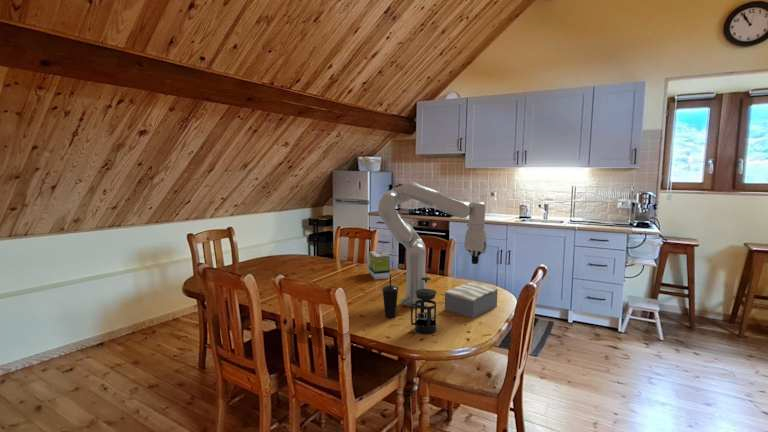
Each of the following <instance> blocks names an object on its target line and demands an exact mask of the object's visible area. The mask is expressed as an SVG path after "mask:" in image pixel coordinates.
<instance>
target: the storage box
mask: <svg viewBox="0 0 768 432" xmlns="http://www.w3.org/2000/svg"><path fill="white" fill-rule="evenodd" d="M496 307H498V291H495V292H493V293H490V294H487V295H485V296H483V297H481V298H479V299H477V300H475V301H470V300H466V299H463V298H459V297H455V296H452V295H448V294H445V293H444V310H446V311H448V312H451V313H454V314H458V315H462V316H465V317H467V318H471V319H475V318H476V317H478V316H480V315H482V313H483V314H484V312H485V313H487V312H489V311H491V310H493V309H495V308H496ZM486 311H487V312H486Z"/></svg>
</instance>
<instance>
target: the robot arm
mask: <svg viewBox="0 0 768 432" xmlns="http://www.w3.org/2000/svg"><path fill="white" fill-rule="evenodd" d="M410 200H411V201H413V202H416V203H420V204H421V205H424V206H428V207H429V208H432V209H434V210H437V211H440V212H443V213H446V214H448V215H451V216H453V217H456V218H459V219H465V218H467V217H468V223H467V224H466V226H467V227H468V228H467V229H466V232H465V237H464V248H465V251H466V252H469V253H470V254H469V255H470V256H471V264H472V265H477V264H479V259H480V258H479V257H480V255H482V254H486V249H487V234H486V233H487V232H486V230H485V219H486V204H485V203H484V202H482V201H465V200H457V199H455V198H452V197H450V196H447V195H445V194H444V193H442V192H441V191H438V190H435V189H432V188H429V187H427V186H424V185H422V184H419V183H417V182H415V181H409V182H406V183H404V184H402V185H400V186H397V187H395V188H392V189H390V190H388V191H386V192H385V193H383V194H382V196H381V197H380V200H379V202H378V209H377V211H378V215H379V218H381V221H382V222H383V223H384V225H385V226H386V228H387V230H388V231H389V232H390V233H391V234H392V236H393V238H394V239H395V240H396V242H397V243H399V244H402V245H403V247H404V248H405V250H406V251H405V254H406V255H405V259H406V261H405V262H406V263H405V264H406V265H405V266H406V268H405V269H406V270H405V271H406V277H405V280H406V281H405V282H406V284H405V289H406V291H405V295H404V298H402V299H400V300H399V302H400V303H401V304H404V305H405V306H406V307H410V308H411V304H415V302H416V301H418V300H422V299H418V298H417V297H416V293H415V291H416V290H418V289H426V283H425V280H422V279H421V278H423V277H426V259H427V258H426V257H427V256H426V255H427V251H426V245H425V242H424V241H423V239H422V238H421V237H420V236H419V234H418V232H417V231H416V230H415V229H414V228H413V226H412V225H411V224H410V223H408V222H405V221H404V220H403V218H402V217H401V215H400V214H399V213H398V211H397V210H396V207H397V206H398V205H400V204H402V203H405V202H407V201H410ZM428 304H429V303H426V306H428ZM417 305H419V306H420V303H418V304H417ZM424 306H425V302H424ZM413 308H415V306H413Z"/></svg>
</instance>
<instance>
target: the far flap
mask: <svg viewBox="0 0 768 432" xmlns="http://www.w3.org/2000/svg"><path fill="white" fill-rule="evenodd" d="M458 286H459V287H463V288H467V289H471V290H475V291H479V292H483V293H486V295H487V294H490V293H493V292H495V291H497V292H498V288H494V287H489V286H486V285H481V284H478V283H473V282H467V283H463V284H461V285H458Z"/></svg>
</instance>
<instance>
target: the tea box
mask: <svg viewBox="0 0 768 432" xmlns="http://www.w3.org/2000/svg"><path fill="white" fill-rule="evenodd" d="M390 258H391V257H390V254H388V253H386V252H385V251H384V250H374V251H368V274H369V275H370V276H371V277H372V278H373V279H374V280H387V279H390V275H391V269H390V268H391V267H390V265H391V264H390V263H391V262H390V260H391V259H390Z"/></svg>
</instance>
